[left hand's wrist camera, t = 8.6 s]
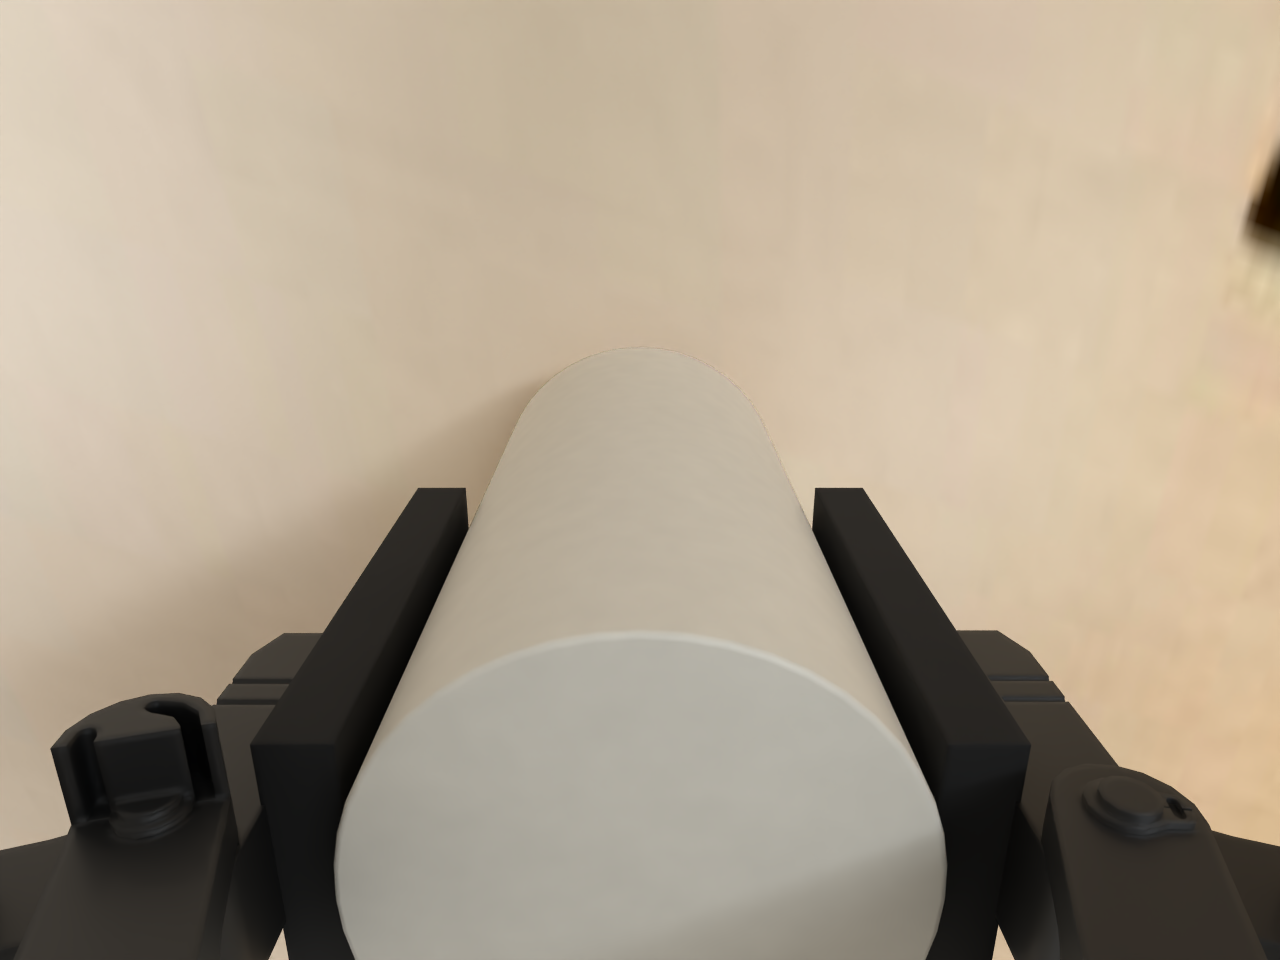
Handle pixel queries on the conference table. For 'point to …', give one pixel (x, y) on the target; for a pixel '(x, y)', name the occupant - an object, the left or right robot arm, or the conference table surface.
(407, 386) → the conference table surface
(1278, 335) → the conference table surface
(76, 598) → the conference table surface
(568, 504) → the canister
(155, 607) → the conference table surface
